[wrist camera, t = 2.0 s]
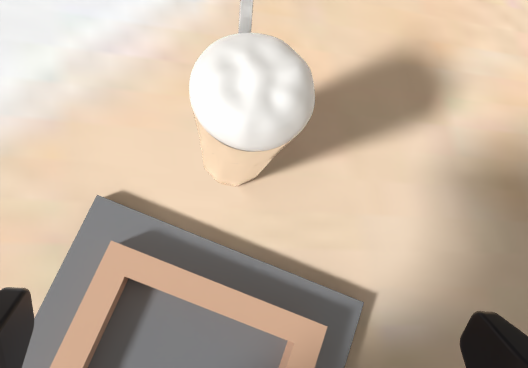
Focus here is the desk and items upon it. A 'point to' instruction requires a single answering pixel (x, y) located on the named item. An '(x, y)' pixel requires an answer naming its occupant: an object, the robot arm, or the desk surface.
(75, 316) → the dock
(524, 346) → the robot arm
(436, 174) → the desk surface
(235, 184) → the milkshake
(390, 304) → the desk surface
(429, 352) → the desk surface
